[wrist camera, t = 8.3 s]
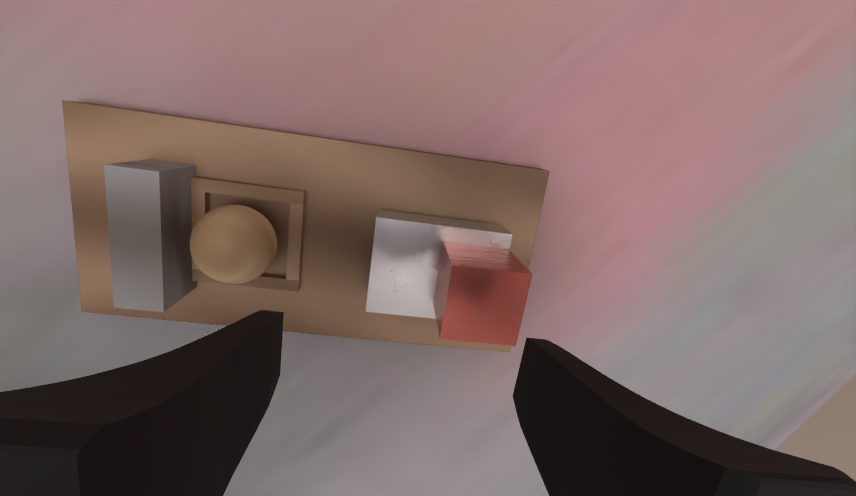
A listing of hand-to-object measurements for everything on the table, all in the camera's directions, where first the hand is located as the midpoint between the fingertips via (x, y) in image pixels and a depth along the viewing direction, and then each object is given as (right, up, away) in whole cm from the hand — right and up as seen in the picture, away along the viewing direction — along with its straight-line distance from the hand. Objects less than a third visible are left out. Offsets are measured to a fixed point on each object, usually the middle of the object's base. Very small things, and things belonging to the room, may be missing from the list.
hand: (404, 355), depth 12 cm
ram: (+1, +2, +8) cm, 8 cm away
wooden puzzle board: (-5, +4, +9) cm, 11 cm away
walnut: (-8, +4, +8) cm, 12 cm away
